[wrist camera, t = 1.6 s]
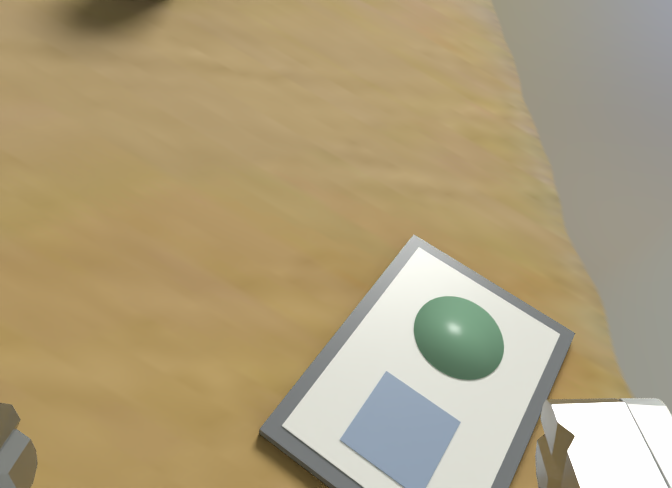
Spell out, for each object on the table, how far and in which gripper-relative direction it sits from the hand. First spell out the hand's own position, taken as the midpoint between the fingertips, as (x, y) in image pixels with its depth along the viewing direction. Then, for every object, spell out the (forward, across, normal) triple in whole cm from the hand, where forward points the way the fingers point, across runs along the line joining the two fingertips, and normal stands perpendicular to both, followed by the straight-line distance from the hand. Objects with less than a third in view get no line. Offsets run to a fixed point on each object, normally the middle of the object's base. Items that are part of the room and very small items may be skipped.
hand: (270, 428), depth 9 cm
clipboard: (+24, -4, +23) cm, 34 cm away
